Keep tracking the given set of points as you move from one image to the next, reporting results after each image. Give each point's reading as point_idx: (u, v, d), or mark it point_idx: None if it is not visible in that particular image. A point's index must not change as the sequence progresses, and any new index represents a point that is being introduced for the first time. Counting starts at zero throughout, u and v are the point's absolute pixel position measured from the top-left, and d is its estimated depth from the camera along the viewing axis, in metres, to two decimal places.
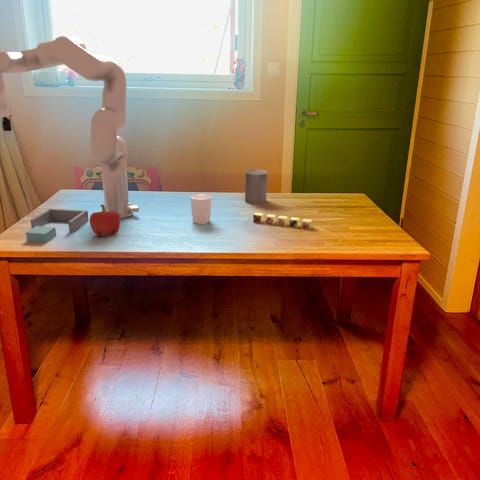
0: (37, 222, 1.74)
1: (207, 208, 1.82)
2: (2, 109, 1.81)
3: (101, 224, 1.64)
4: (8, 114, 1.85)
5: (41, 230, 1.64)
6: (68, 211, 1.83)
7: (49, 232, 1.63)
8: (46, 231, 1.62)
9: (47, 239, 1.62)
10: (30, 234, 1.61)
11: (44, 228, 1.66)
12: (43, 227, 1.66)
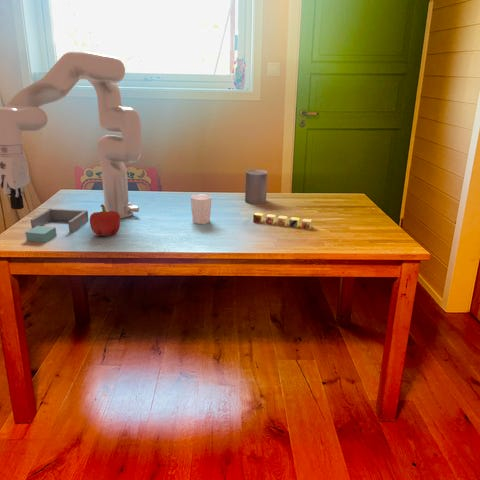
0: (37, 222, 1.74)
1: (207, 208, 1.82)
2: (20, 177, 1.45)
3: (101, 224, 1.64)
4: (27, 182, 1.49)
5: (41, 230, 1.64)
6: (68, 211, 1.83)
7: (48, 232, 1.63)
8: (45, 231, 1.62)
9: (46, 239, 1.62)
10: (29, 234, 1.61)
11: (45, 228, 1.65)
12: (44, 227, 1.66)
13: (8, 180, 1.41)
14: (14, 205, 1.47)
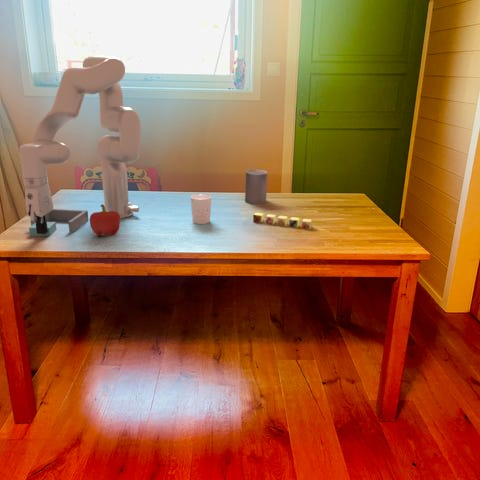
0: None
1: (207, 208, 1.82)
2: (45, 206, 1.61)
3: (101, 224, 1.64)
4: (51, 209, 1.65)
5: None
6: (68, 211, 1.83)
7: (51, 226, 1.69)
8: (49, 226, 1.69)
9: (50, 233, 1.68)
10: (33, 229, 1.66)
11: None
12: None
13: (34, 209, 1.57)
14: (39, 230, 1.63)
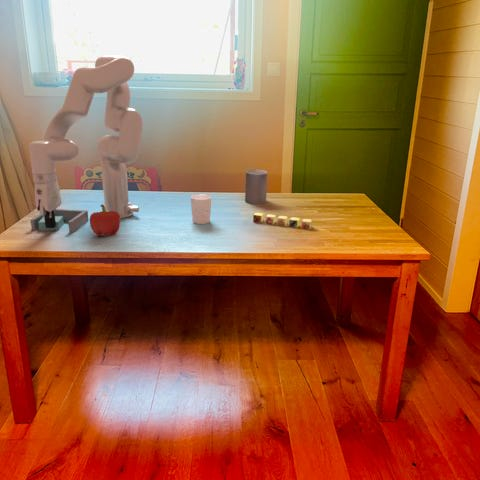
0: (37, 222, 1.74)
1: (207, 208, 1.82)
2: (54, 201, 1.66)
3: (101, 224, 1.64)
4: (59, 204, 1.70)
5: None
6: (68, 211, 1.83)
7: (60, 221, 1.75)
8: (57, 220, 1.74)
9: (59, 227, 1.74)
10: (42, 223, 1.72)
11: None
12: None
13: (44, 204, 1.63)
14: (48, 225, 1.69)
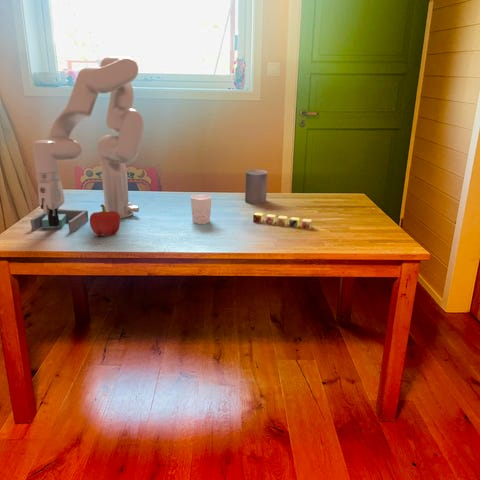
0: (37, 222, 1.74)
1: (207, 208, 1.82)
2: (57, 199, 1.69)
3: (101, 224, 1.64)
4: (62, 203, 1.73)
5: None
6: (68, 211, 1.83)
7: (63, 218, 1.77)
8: (60, 218, 1.77)
9: (62, 225, 1.76)
10: (46, 221, 1.74)
11: None
12: None
13: (47, 202, 1.65)
14: (51, 223, 1.71)
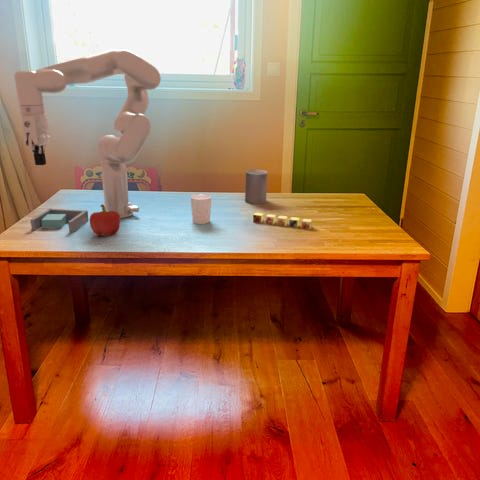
0: (37, 222, 1.74)
1: (207, 208, 1.82)
2: (43, 135, 1.60)
3: (101, 224, 1.64)
4: (48, 140, 1.64)
5: (54, 217, 1.77)
6: (68, 211, 1.83)
7: (63, 218, 1.77)
8: (60, 217, 1.76)
9: (62, 225, 1.76)
10: (45, 221, 1.74)
11: (56, 215, 1.79)
12: (55, 215, 1.80)
13: (32, 137, 1.56)
14: (38, 161, 1.63)
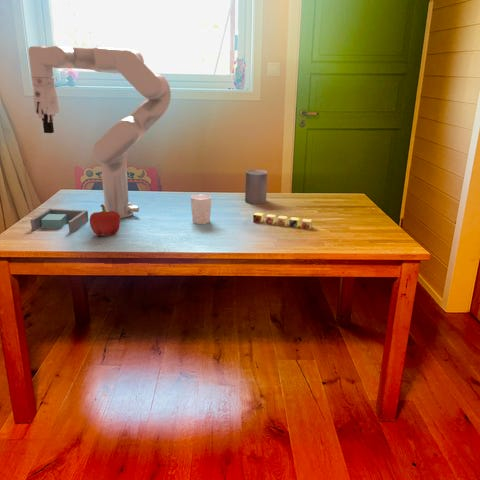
0: (37, 222, 1.74)
1: (207, 208, 1.82)
2: (51, 105, 1.77)
3: (101, 224, 1.64)
4: (56, 111, 1.81)
5: (54, 217, 1.77)
6: (68, 211, 1.83)
7: (62, 219, 1.77)
8: (60, 218, 1.76)
9: (61, 225, 1.76)
10: (45, 221, 1.74)
11: (57, 215, 1.79)
12: (55, 215, 1.80)
13: (42, 106, 1.73)
14: (46, 129, 1.80)
